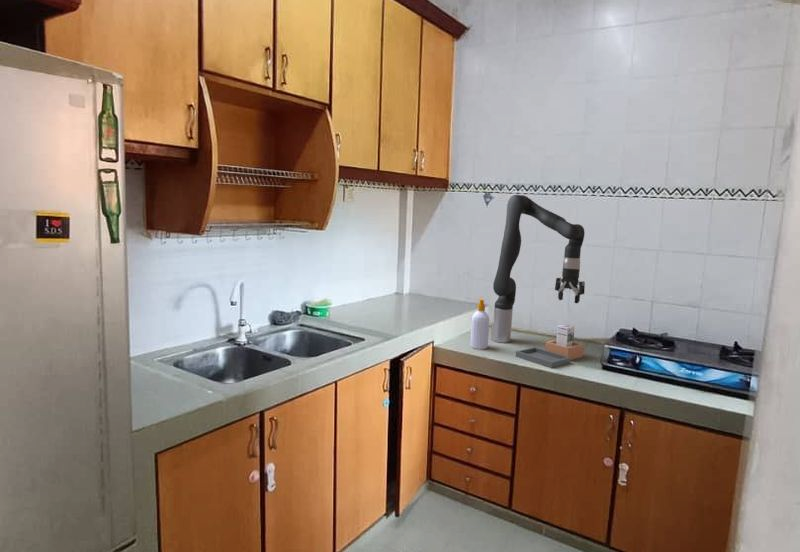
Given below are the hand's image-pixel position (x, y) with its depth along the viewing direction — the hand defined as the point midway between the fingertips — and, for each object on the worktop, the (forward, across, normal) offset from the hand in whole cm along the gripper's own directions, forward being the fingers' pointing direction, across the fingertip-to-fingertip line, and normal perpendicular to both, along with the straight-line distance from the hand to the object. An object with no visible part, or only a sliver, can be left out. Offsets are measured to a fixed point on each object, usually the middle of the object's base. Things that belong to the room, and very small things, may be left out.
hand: (568, 301), depth 245 cm
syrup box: (+26, 0, 0) cm, 26 cm away
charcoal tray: (+26, -1, -15) cm, 30 cm away
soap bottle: (+26, -32, -25) cm, 48 cm away
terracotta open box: (+26, 0, 0) cm, 26 cm away
